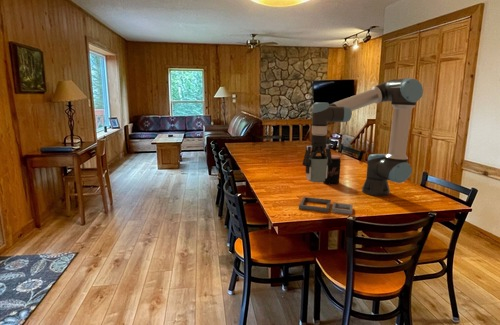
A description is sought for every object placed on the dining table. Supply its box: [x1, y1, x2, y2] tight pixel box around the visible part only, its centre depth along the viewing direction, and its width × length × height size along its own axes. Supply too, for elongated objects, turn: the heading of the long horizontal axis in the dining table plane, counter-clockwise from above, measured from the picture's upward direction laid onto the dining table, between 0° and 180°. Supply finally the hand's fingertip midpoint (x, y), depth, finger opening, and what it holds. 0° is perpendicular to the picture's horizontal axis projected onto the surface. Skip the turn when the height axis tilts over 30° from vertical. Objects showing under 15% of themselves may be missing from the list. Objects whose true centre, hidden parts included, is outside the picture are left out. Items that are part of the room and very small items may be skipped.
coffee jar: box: [322, 154, 342, 186], centre depth 204 cm, size 11×11×18 cm
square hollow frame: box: [298, 196, 332, 214], centre depth 161 cm, size 14×14×2 cm
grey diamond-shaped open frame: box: [331, 202, 354, 216], centre depth 155 cm, size 9×9×2 cm
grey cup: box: [308, 154, 328, 183], centre depth 157 cm, size 10×10×12 cm
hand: (316, 178), depth 158 cm, fingers closed on grey cup, 9 cm apart
